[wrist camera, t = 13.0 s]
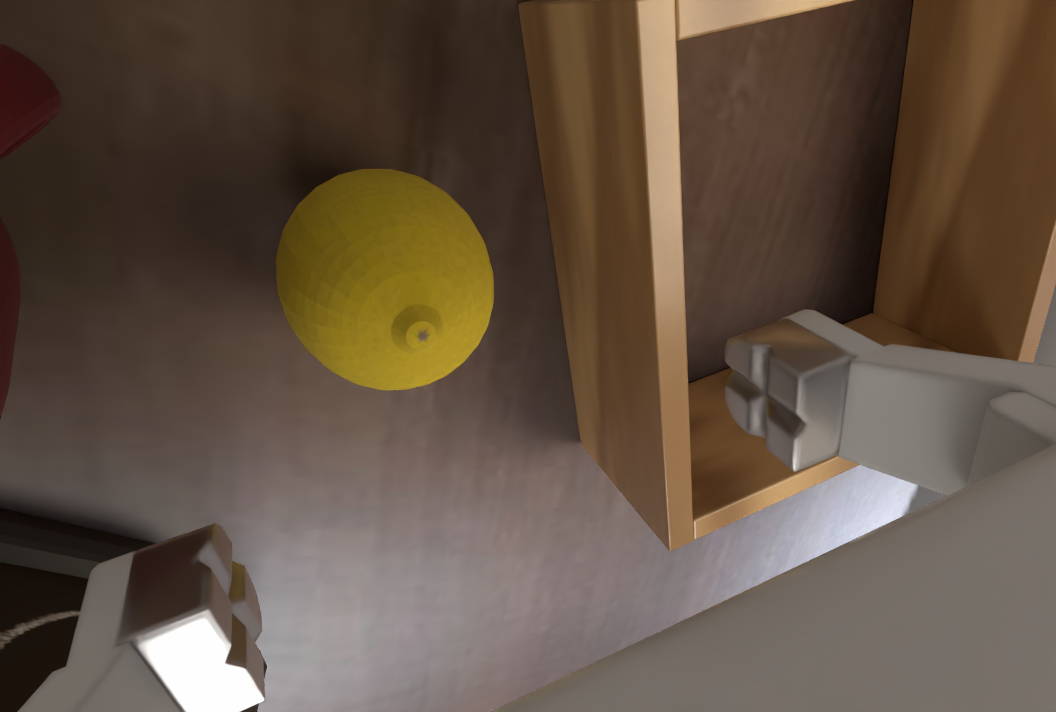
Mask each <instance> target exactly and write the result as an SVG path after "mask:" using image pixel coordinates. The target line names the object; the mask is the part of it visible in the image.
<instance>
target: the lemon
mask: <svg viewBox="0 0 1056 712" xmlns="http://www.w3.org/2000/svg"><path fill="white" fill-rule="evenodd" d="M276 284H277V291H278V294H279V297H280V301H281V304H282V307H283V310H284V314H285V317H286V319H287V321H288V323H289V325H290V326H291V328H292V329H293V331H294V332H295V334H296V335H297V337H298V338H299V340H300V341H301V343H302V344H303V346H304V347H305V348H306V349H307V350H308V351H309V352H310V353H311V354H312V355H313V356H314V357H315V358H316V359H318V360H319V361H320V362H321V363H322V364H323V365H324V366H326V367H327V368H328V369H329V370H330V371H332V372H333V373H335V374H337V375H339V376H341V377H343V378H345V379H347V380H349V381H351V382H353V383H355V384H358V385H361V386H366V387H370V388H375V389H379V390H406V389H410V388H415V387H419V386H423V385H427V384H430V383H432V382H434V381H436V380H438V379H440V378H442V377H444V376H446V375H448V374H449V373H450V372H452V371H453V370H454V369H456V368H457V367H458V366H459V365H461V364H462V363H463V362H464V361H465V360H466V359H467V358H468V356H469V355H470V354H471V353H472V352H473V350H474V349H475V348H476V347H477V346H478V344H479V342H480V340H481V338H482V336H483V334H484V333H485V331H486V329H487V327H488V323H489V319H490V315H491V311H492V307H493V302H494V278H493V271H492V267H491V264H490V260H489V256H488V252H487V249H486V245H485V243H484V241H483V239H482V237H481V235H480V234H479V232H478V230H477V228H476V227H475V225H474V223H473V222H472V220H471V218H470V217H469V215H468V214H467V213H466V212H465V211H464V210H463V209H462V208H461V207H460V206H459V205H458V204H457V203H456V202H455V201H454V200H453V199H452V198H451V197H450V196H449V195H448V194H447V193H446V192H445V191H443V190H442V189H440V188H438V187H437V186H435V185H433V184H431V183H430V182H428V181H426V180H424V179H423V178H421V177H419V176H416V175H412V174H408V173H405V172H401V171H397V170H393V169H360V170H356V171H352V172H348V173H344V174H340V175H337V176H335V177H334V178H332V179H330V180H328V181H327V182H325V183H323V184H321V185H319V186H318V187H316V188H315V189H314V190H313V191H312V192H311V193H310V194H309V195H307V196H306V197H305V198H304V199H303V200H302V201H301V202H300V203H299V204H298V205H297V207H296V208H295V210H294V212H293V213H292V215H291V217H290V219H289V220H288V222H287V224H286V225H285V227H284V229H283V232H282V235H281V239H280V243H279V247H278V251H277V255H276Z"/></svg>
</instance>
